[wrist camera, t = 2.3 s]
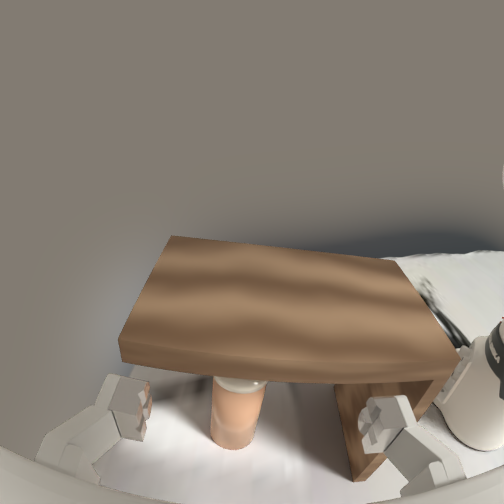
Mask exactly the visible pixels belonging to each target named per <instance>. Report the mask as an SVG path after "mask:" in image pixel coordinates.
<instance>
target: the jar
mask: <svg viewBox="0 0 504 504" xmlns="http://www.w3.org/2000/svg"><path fill="white" fill-rule="evenodd" d="M267 382H268V381H260V380H247V379H236V378H226V377H217V376H213V390H212V408H211V427H210V434H211V437H212V439H213V441H214V442H215V443H216V444H217V445H219V446H220V447H222V448H225V449H229V450H238V449H242V448H244V447H246V446H247V445H249V444H250V443H251V441H252V439H253V436H254V433H255V429H256V425H257V421H258V417H259V413H260V409H261V405H262V401H263V397H264V393H265V389H266V385H267Z"/></svg>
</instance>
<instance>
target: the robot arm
mask: <svg viewBox="0 0 504 504" xmlns="http://www.w3.org/2000/svg"><path fill="white" fill-rule="evenodd" d="M503 188H504V167H503ZM502 319H503V321H502V322H501V321H500V323H499V324H498V325H497V326H496V327H495V328H494V329H493V330H492V332H491V333H490V335H489V336H480V337H477V338H475V339H474V341H473V342H472V344H471V345H470V347H469V348H467V347H466V346H462V347H461V349H455V350H456V351H457V353H458V354H459V356H460V358H461V360H460V362H459V363H458V365H457V367H456V368H455V370H454V371H453V373H452V374H451V376H450V377H449V379H448V380H447V382H446V383H445V385H444V386H443V388H442V389H441V391H440V392H439V394H438V395H437V396H436V398H435V399H434V401H433V402H434V404H435V405H436V406H437V407H438V408H439V409H440V410H441V412H442V414H443V416H444V418H445V421H446V423H447V425H448V426H449V428H450V430H451V431H452V432H453V433H454V435H455V436H456V437H457V438H458V439H459V440H461V441H462V442H463V443H465V444H466V445H468V446H470V447H472V448H474V449H477V450H482V451H492V450H496V449H498V448H500V447H502V446H503V445H504V317H502ZM149 389H150V385H149V382H148V381H143V380H138V379H134V378H129V377H125V376H121V375H116V374H111V373H109V374H108V375H107V376H106V378H105V381H104V383H103V385H102V388H101V390H100V392H99V395H98V397H97V400H96V402H95V404H94V406H89V407H87V408H86V409H84V410H82V411H81V412H79V413H78V414H76V415H75V416H73V417H72V418H70V419H68V420H67V421H65V422H64V423H62V424H61V425H59V426H58V427H56V428H54V429H53V430H51V431H50V432H48V433H47V434H45V436H44V439H43V441H42V443H41V445H40V448H39V450H38V452H37V455H36V457H35V459H34V461H32V460H29V459H27V458H25V457H23V456H21V455H19V454H17V453H14V452H12V451H10V450H8V449H6V448H4V447H2V446H0V504H180V503H174V502H168V501H162V500H157V499H152V498H147V497H143V496H138V495H134V494H130V493H126V492H122V491H118V490H114V489H110V488H107V487H103V486H100V485H99V482H100V477H99V476H98V474H97V473H96V471H95V470H94V468H93V466H92V464H93V463H95V462H96V461H97V460H98V459H99V458H100V457H101V456H102V455H104V454H105V453H106V452H107V451H108V450H109V449H110V448H111V447H113V446H114V445H115V444H116V443H117V442H118V441H119V440H120V439H121V438H126V439H131V440H136V441H141V442H143V440H144V436H145V432H146V429H147V427H146V422H145V421H146V420H147V419H149V417H150V413H151V406H152V397H151V394H150V393H149ZM366 405H367V407H365V408H364V409H362V410H361V412H360V414H359V418H358V428H359V431H360V432H361V433H362V434H363V435H364V437H363V439H362V444H363V448H364V452H365V454H370V453H382V452H384V454H385V456H386V457H387V458H388V459H389V460H390V461H391V462H392V463H393V465H394V466H395V467H396V468H397V469H398V470H399V471H400V472H401V473H402V475H403V476H404V477H405V478H406V479H407V480H408V481H409V483H408V484H407V485H405V486H404V487H403V488H402V489H401V490H400V494H401V498H396V499H391V500H386V501H380V502H374V503H368V504H504V465H502V466H500V467H497V468H495V469H492V470H490V471H487V472H485V473H482V474H479V475H477V476H474V477H471V478H468V479H467V478H466V475H465V472H464V470H463V467H462V464H461V462H460V459H459V457H458V455H457V454H456V453H454V452H453V451H452V450H451V449H449V448H448V447H447V446H446V445H444V444H443V443H442V442H441V441H439V440H438V439H437V438H436V437H435V436H433V435H432V434H431V433H430V432H428V431H427V430H426V429H425V428H423V427H422V426H418V424H417V421H416V419H415V416H414V414H413V411H412V409H411V406H410V404H409V401H408V399H407V397H406V396H405V395H398V396H379V397H370V398H369V399H368V400H367V402H366Z"/></svg>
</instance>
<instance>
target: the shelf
mask: <svg viewBox="0 0 504 504" xmlns="http://www.w3.org/2000/svg"><path fill="white" fill-rule="evenodd" d="M118 342H119V347H120V352H121V358H122V362H126V363H131V364H136V365H141V366H147V367H153V368H159V369H165V370H171V371H178V372H185V373H192V374H200V375H208V376H217V377H226V378H236V379H247V380H260V381H275V382H294V383H330V384H335V385H334V391H335V395H336V400H337V404H338V409H339V414H340V418H341V423H342V428H343V433H344V438H345V443H346V448H347V453H348V458H349V463H350V468H351V474H352V479H353V482H359V481H365V480H366V479H367V478H368V477H369V476H370V475H371V474H372V473H373V472H374V471H375V470H376V469H377V468H378V467H379V466H380V465H381V464H382V463H383V462H384V461H385V460H386V458H387V457H386V456H385V454H384V452H382V453H370V454H365V452H364V448H363V444H362V439H363V437H364V435H363V434H362V433H361V432H360V431H359V428H358V418H359V414H360V412H361V410H362V409H364V408H365V407H367V405H366V402H367V400H368V399H369V398H370V397H379V396H398V395H405V396H406V397H407V399H408V401H409V404H410V406H411V409H412V411H413V414H414V416H415V419H416V421H417V422H418V421H419V419H420V418H421V417H422V415H423V414H424V413H425V411H426V410H427V409H428V407H429V406H430V405H431V403H432V402H433V401H434V399H435V398H436V396H437V395H438V394H439V392H440V391H441V389H442V388H443V386H444V385H445V383H446V382H447V380H448V379H449V377H450V376H451V374H452V373H453V371H454V370H455V368H456V367H457V365H458V363H459V362H460V360H461V358H460V356H459V354H458V353H457V351H456V350H455V348H454V346H453V345H452V343H451V342H450V340H449V338H448V337H447V335H446V334H445V332H444V331H443V329H442V328H441V326H440V324H439V323H438V321H437V320H436V318H435V317H434V315H433V314H432V312H431V311H430V309H429V308H428V307H427V305H426V304H425V302H424V301H423V299H422V298H421V296H420V295H419V293H418V292H417V291H416V289H415V288H414V286H413V285H412V284H411V282H410V281H409V279H408V278H407V277H406V275H405V274H404V273H403V271H402V270H401V268H400V267H399V266H398V264H397V263H396V262H395V261H393V260H384V259H376V258H367V257H359V256H350V255H341V254H333V253H324V252H316V251H307V250H298V249H289V248H281V247H272V246H262V245H254V244H245V243H236V242H227V241H217V240H208V239H199V238H190V237H181V236H180V237H179V236H171V237H170V239H169V241H168V243H167V245H166V246H165V248H164V250H163V252H162V254H161V255H160V257H159V259H158V261H157V263H156V265H155V267H154V268H153V270H152V272H151V274H150V276H149V278H148V280H147V282H146V284H145V286H144V288H143V290H142V291H141V293H140V295H139V297H138V299H137V301H136V303H135V305H134V307H133V309H132V311H131V313H130V315H129V317H128V319H127V321H126V323H125V325H124V327H123V329H122V332H121V333H120V336H119V338H118Z"/></svg>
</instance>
